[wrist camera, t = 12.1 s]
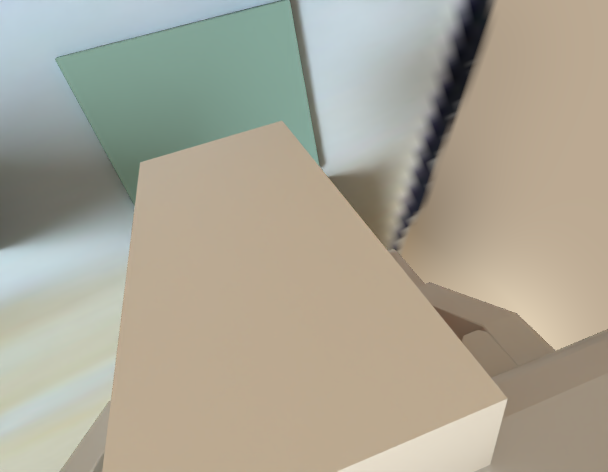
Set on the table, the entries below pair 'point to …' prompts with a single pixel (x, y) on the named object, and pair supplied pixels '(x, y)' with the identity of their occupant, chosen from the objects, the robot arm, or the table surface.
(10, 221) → the table surface
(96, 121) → the mat
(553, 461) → the robot arm
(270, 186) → the label box
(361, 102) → the table surface
